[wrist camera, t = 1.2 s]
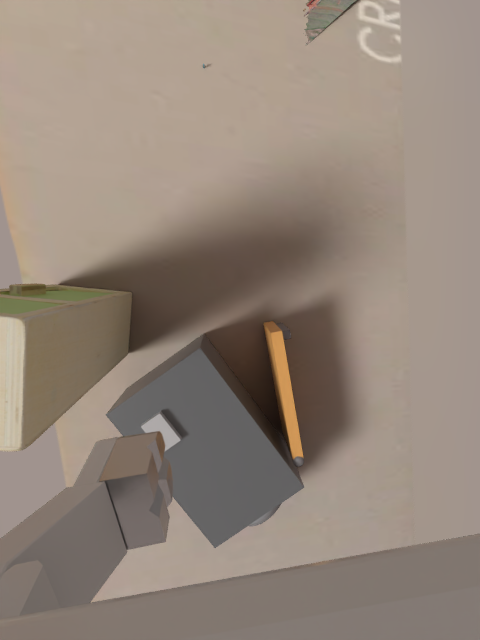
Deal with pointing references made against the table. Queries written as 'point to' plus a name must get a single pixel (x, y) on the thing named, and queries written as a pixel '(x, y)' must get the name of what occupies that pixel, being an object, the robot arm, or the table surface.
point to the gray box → (211, 441)
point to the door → (283, 388)
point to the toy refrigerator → (54, 352)
